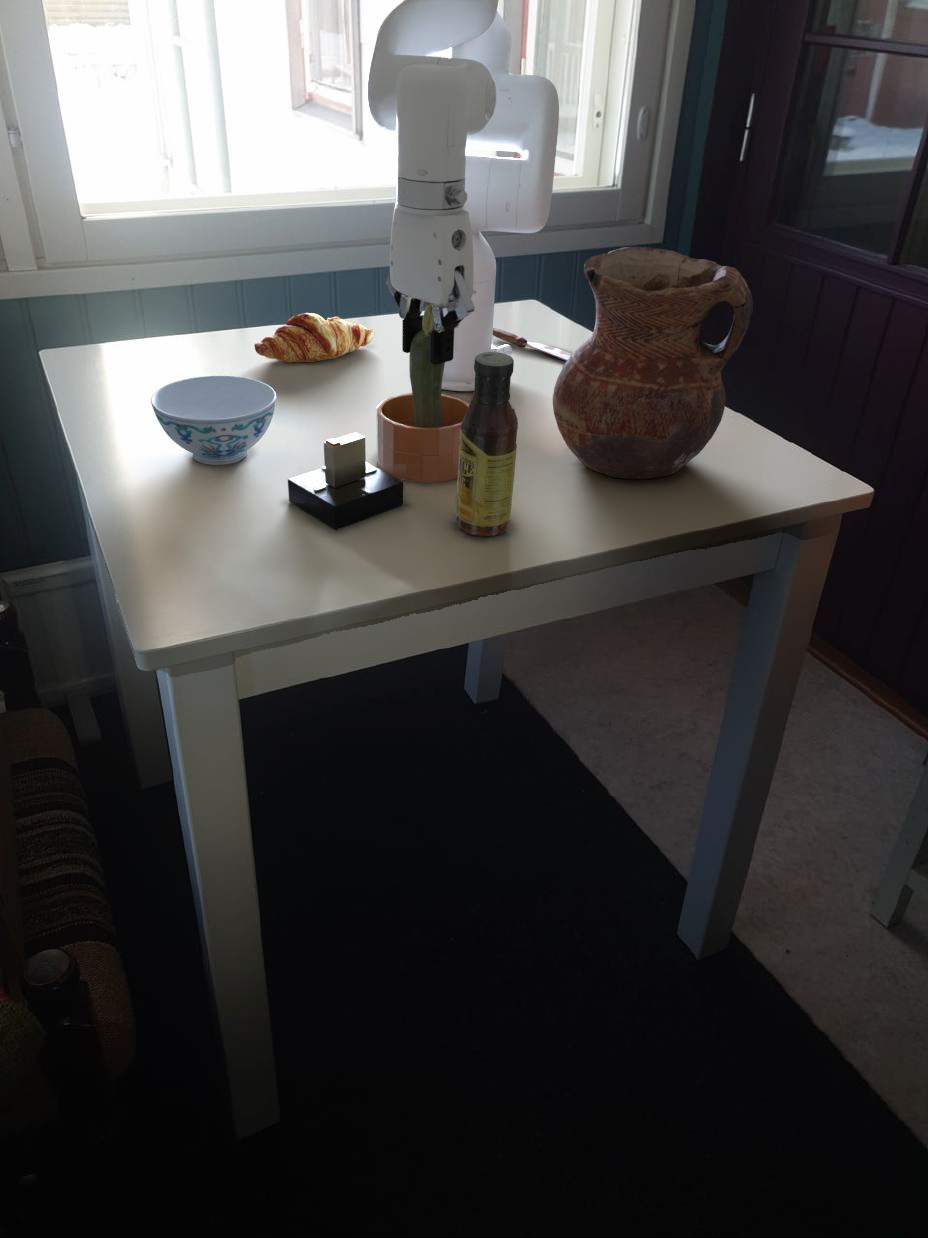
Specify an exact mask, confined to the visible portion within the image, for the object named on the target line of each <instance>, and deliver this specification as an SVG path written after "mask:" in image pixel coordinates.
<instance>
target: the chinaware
mask: <svg viewBox="0 0 928 1238" xmlns="http://www.w3.org/2000/svg"><path fill="white" fill-rule="evenodd" d="M276 401H277V394H276V391H275V390H274V389H273V387H271V385H269V384H267V383H265V382H262V381H260V380H257V379H253V378H250V377H245V376H244V377H243V376H235V375H204V376H196V377H191V378H189V377H188V378H185V379H180V380H177V381H174V382H170V383H168V384H166V385H164V386H162V387H160V388H159V389H157V390H156V391H154V393H153V394H152V396H151V399H150V404H151V406H152V410H153V412H154V414H155V417H156V419H157V421H158V423H159V425H160V427H161V428H162V429H163V431H164V433H165V434H166V435H167V436H168V437H169V438H170V439H171V440H172V441H173V442H174V443H175V444H176V445H178V446H179V447H180V448H181V449H183V450H184V451H187V452H188V453H191V454H192V456H193V458H194V460H196V461H197V462H199V463H202V464H204V465H209V466H210V465H211V466H223V465H230V464H234V463H238V462H240V461H242V460H244V459H245V458H246V457H247V455H248V451H249V450H250V449H251V448H252V447H254V446H255V445H256V444H257V443H258V442H259V441H260V440H261V439H262V438H263V436H264V435H265V434H266V432H267V431H268V429H269V427H270V425H271V423H272V420H273V417H274V414H275V413H274V412H275V408H276Z"/></svg>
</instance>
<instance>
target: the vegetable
mask: <svg viewBox="0 0 928 1238" xmlns="http://www.w3.org/2000/svg"><path fill="white" fill-rule="evenodd" d="M423 315H424V316H423V319H422V328H423V330H421V331H420V332H418V333H417V334H416V336H415V337H414V338H413V340H412V343H411V348H410V353H409V355H408V356H409V380H410V386H411V393H412V395H413V407H414V422H415V427H422V428H438V427H443V417H442V409H441V394H442V389H441V386H442V379H443V372H444V366H445V362H444V363H441V364H437V365H434V364H432V363H431V361H430V355H431V331H433V330H435V325H434V317H433V309H432V304H430V303H427V302H426V305H425V307H424V312H423Z"/></svg>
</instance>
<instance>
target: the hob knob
mask: <svg viewBox="0 0 928 1238" xmlns="http://www.w3.org/2000/svg"><path fill="white" fill-rule="evenodd" d="M366 453H367V452H366V437H365V436H364V435H361V434H359V433H358V432H353V433H349V434H347V435H342V436H340V437H337V438H334V437H331V438H328V439H326V440H325V441H324V442H323V458H324V459H323V460H324V466H325V482H326V483H327V484H329V485H331V486H332V487H334V488H336V487H339V486H342V485H344V484H347V483H350V482H353V481H356V480H359V479H362V478H364V477H366V463H367V461H366V457H367V456H366Z"/></svg>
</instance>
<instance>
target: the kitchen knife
mask: <svg viewBox="0 0 928 1238" xmlns="http://www.w3.org/2000/svg"><path fill="white" fill-rule="evenodd" d="M492 336H494V337H496V338H497V339H499V340H501V341H504V342H506V343H509V344H511V345H515V346H517V347H519V348H526V347H528V348H531V349H534V350H536V351H539V352H541V353H544V354H547V355H550V356H552V357H555V358H558V359H560V360H563V361H565V362H566V361H567V360H568V359H569V357H570V356H571V355H572V354H573V353H570V352H568V351H565V350H563V349H559V348H558V347H554V346H551V345H548V344H544V343H539V342H535V341H529V340H527V339H526V338H525V337H522V336H519V335H517V334H515V333H512V332H509V331H506V330H503V329H500V328H496V327H493V334H492Z"/></svg>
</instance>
